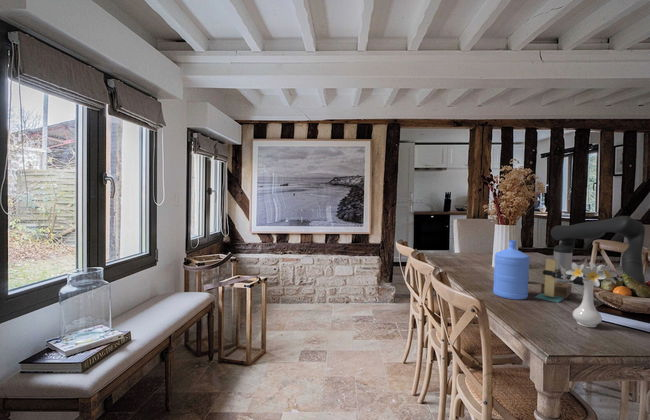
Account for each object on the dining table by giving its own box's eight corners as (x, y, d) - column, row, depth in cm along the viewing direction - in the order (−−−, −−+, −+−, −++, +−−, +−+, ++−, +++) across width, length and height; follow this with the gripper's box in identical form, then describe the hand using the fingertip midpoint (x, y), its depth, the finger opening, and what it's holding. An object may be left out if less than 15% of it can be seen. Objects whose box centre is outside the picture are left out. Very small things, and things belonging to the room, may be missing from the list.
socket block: (546, 289, 187) (547, 280, 187) (570, 293, 179) (571, 284, 179) (540, 293, 180) (541, 283, 179) (565, 298, 172) (566, 288, 171)
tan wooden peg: (546, 293, 174) (548, 258, 173) (555, 295, 171) (557, 259, 170) (544, 295, 171) (545, 259, 170) (553, 297, 168) (555, 260, 167)
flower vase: (554, 315, 147) (557, 257, 145) (608, 323, 139) (612, 261, 138) (560, 326, 135) (563, 263, 133) (620, 335, 127) (624, 268, 126)
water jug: (533, 301, 166) (535, 243, 164) (497, 298, 169) (500, 242, 168) (521, 292, 181) (523, 239, 180) (489, 289, 184) (491, 238, 183)
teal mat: (541, 294, 178) (541, 292, 178) (564, 298, 171) (564, 297, 171) (535, 297, 171) (535, 296, 171) (558, 302, 164) (559, 301, 164)
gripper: (590, 267, 165) (548, 262, 177) (584, 272, 155) (540, 266, 167) (589, 283, 165) (547, 276, 178) (583, 288, 156) (539, 281, 168)
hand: (544, 271), depth 173 cm, fingers open, 4 cm apart
